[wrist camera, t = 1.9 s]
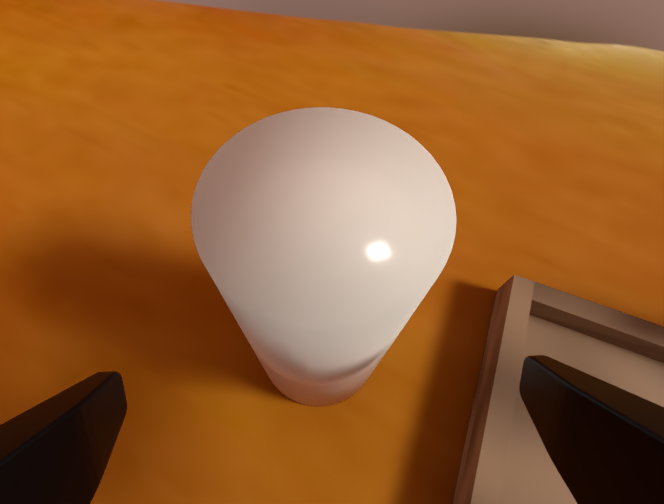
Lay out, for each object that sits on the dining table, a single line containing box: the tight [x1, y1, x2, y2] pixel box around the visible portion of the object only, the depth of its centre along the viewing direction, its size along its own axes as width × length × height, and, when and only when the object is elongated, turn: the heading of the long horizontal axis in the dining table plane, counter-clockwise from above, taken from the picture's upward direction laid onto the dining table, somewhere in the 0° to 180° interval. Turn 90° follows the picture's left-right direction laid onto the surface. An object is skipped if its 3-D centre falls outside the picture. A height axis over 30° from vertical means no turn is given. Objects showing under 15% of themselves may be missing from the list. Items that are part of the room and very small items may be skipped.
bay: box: [452, 275, 664, 504], centre depth 17 cm, size 12×12×2 cm
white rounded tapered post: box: [191, 107, 456, 407], centre depth 14 cm, size 6×6×12 cm
